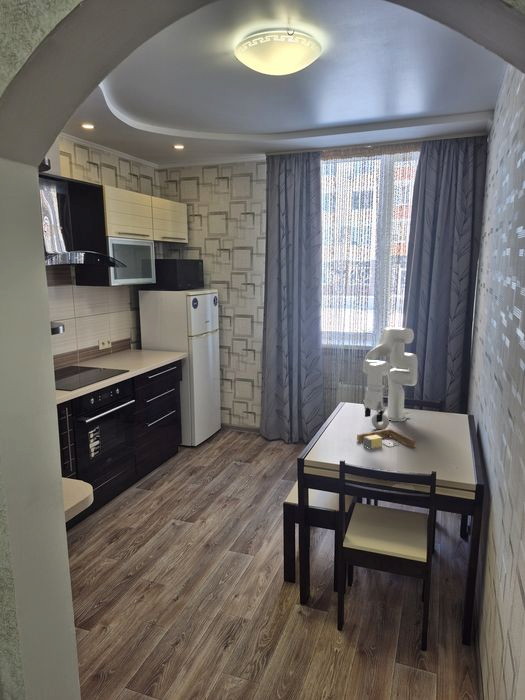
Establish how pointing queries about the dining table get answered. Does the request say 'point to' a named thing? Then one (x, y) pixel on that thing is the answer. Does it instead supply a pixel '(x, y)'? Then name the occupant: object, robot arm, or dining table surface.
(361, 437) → the tan wooden angled piece
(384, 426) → the donut
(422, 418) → the dining table surface
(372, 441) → the bar block
